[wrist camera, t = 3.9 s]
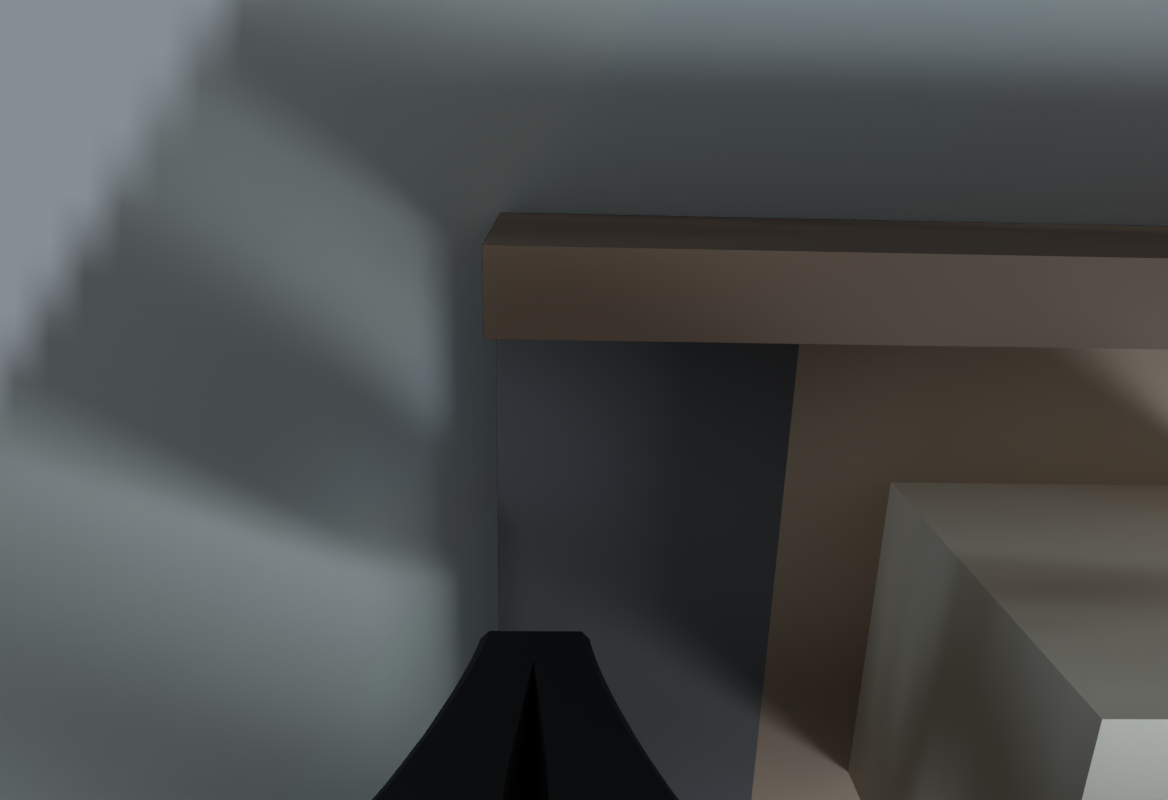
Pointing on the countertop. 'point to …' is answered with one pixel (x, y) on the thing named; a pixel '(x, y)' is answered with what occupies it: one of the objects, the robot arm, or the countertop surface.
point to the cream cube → (1017, 645)
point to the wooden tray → (786, 444)
